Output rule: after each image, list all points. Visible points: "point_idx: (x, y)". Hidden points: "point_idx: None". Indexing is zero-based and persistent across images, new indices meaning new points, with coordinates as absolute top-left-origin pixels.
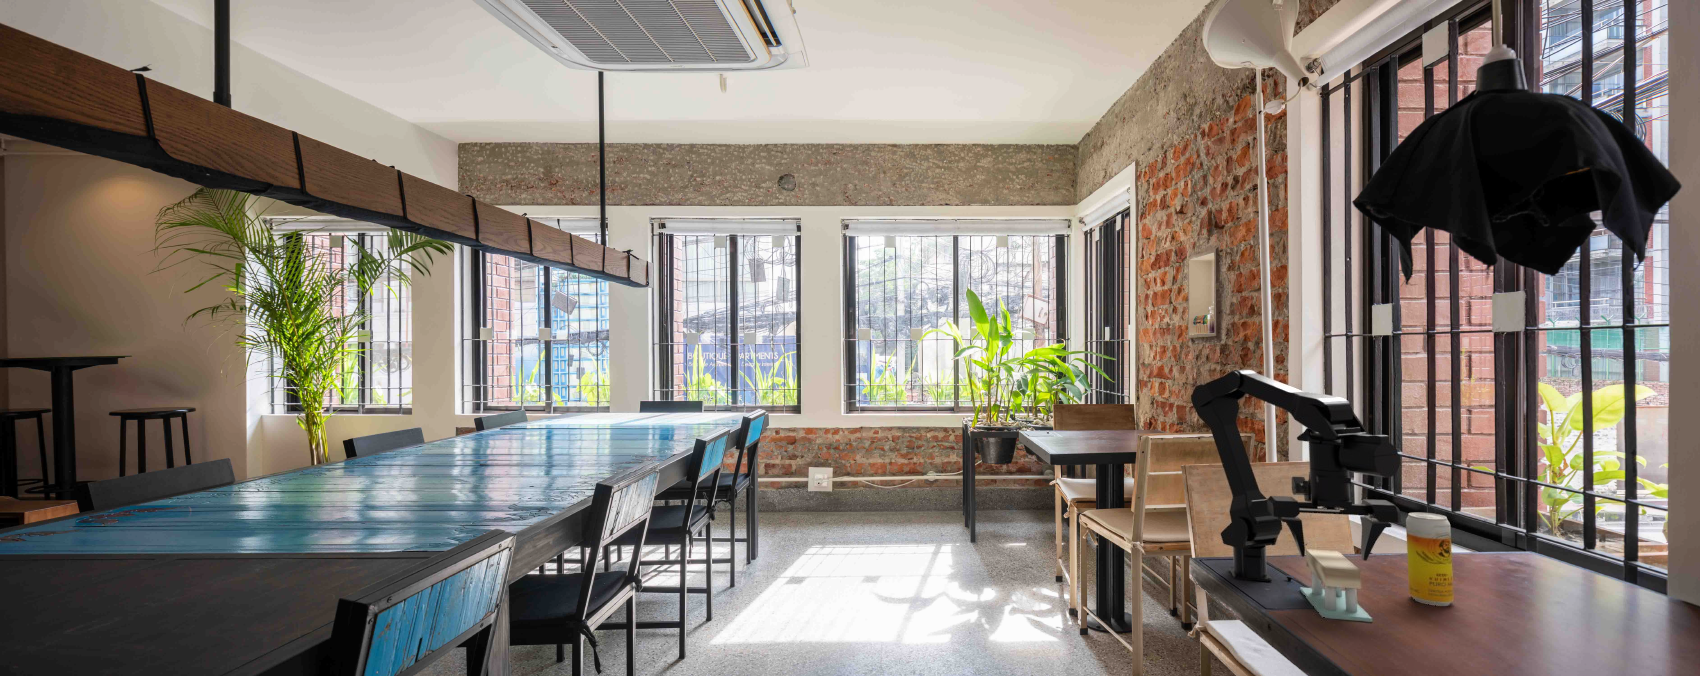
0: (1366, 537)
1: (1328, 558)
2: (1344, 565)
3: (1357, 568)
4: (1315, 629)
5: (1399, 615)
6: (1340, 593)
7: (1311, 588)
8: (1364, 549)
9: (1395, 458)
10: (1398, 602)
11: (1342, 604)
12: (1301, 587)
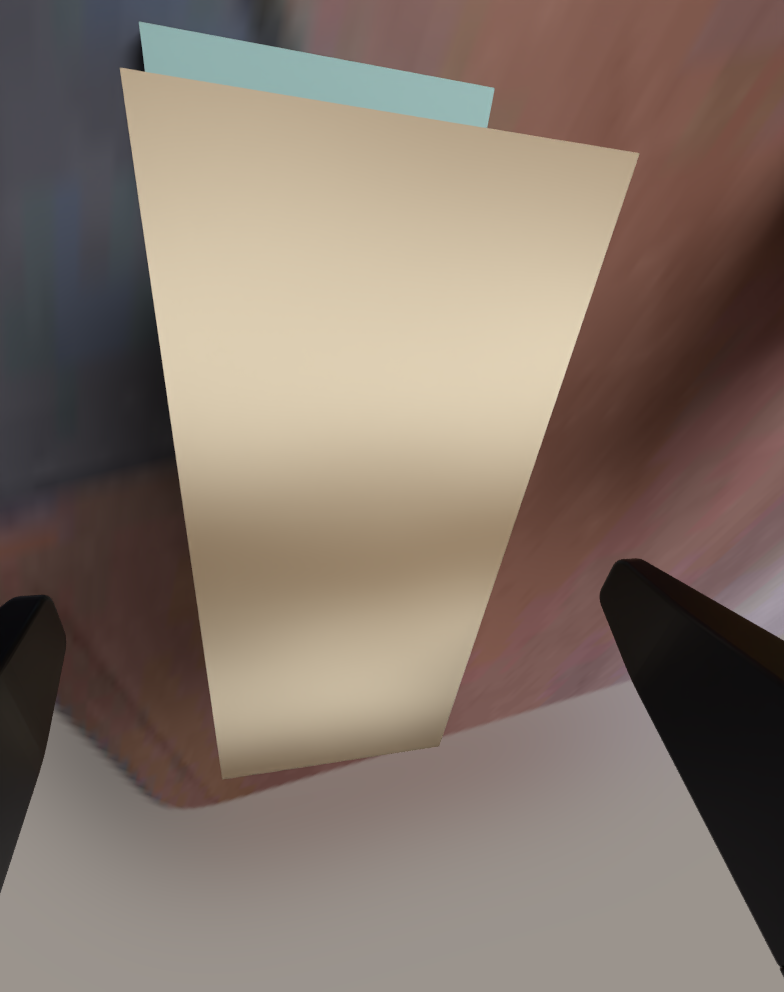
0: (768, 860)
1: (334, 562)
2: (386, 695)
3: (443, 719)
4: (155, 674)
5: (558, 450)
6: None
7: (240, 54)
8: (658, 704)
9: None
10: (703, 238)
11: None
12: (151, 25)
